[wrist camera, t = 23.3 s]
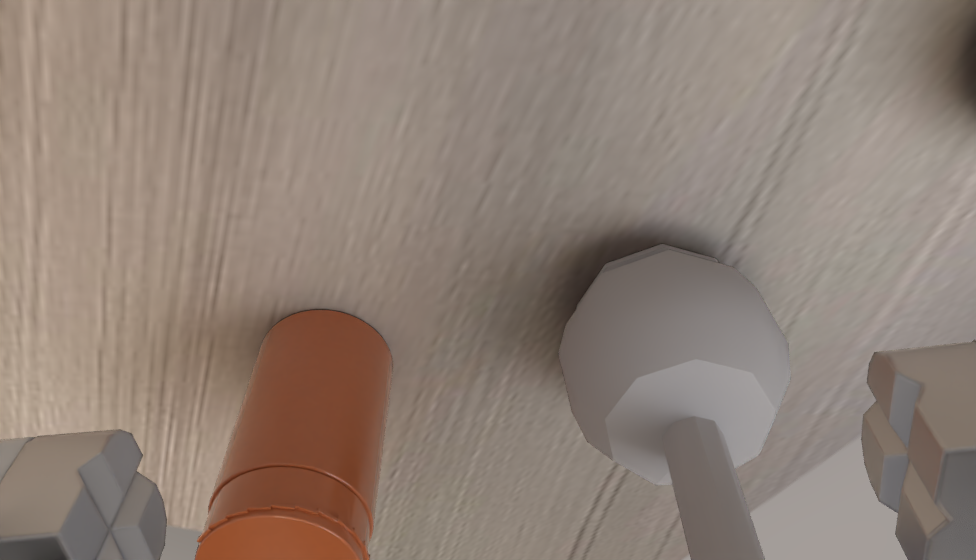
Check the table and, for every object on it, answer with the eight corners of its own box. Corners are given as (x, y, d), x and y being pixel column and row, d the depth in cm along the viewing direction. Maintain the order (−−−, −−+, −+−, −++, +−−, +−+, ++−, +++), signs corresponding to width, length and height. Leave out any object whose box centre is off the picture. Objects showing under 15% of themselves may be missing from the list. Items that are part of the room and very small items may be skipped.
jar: (419, 353, 39) (401, 562, 30) (346, 432, 42) (308, 648, 32) (304, 285, 37) (246, 487, 28) (235, 373, 40) (159, 584, 30)
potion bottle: (802, 315, 38) (1013, 723, 23) (635, 423, 41) (726, 842, 26) (679, 180, 35) (836, 560, 20) (507, 310, 38) (529, 720, 23)
